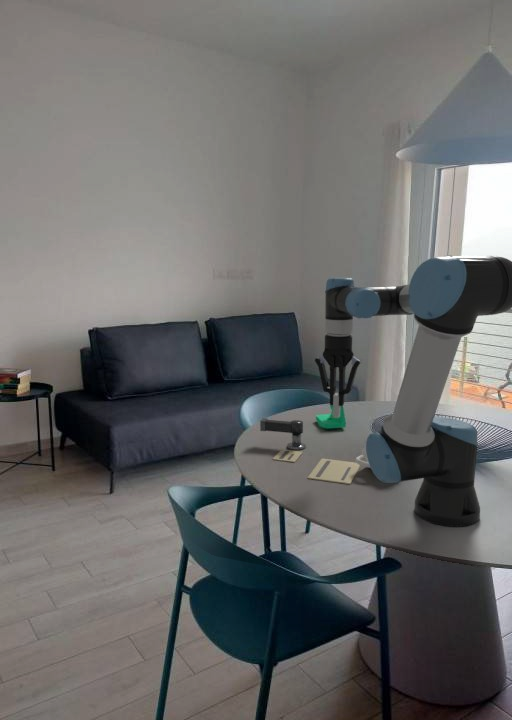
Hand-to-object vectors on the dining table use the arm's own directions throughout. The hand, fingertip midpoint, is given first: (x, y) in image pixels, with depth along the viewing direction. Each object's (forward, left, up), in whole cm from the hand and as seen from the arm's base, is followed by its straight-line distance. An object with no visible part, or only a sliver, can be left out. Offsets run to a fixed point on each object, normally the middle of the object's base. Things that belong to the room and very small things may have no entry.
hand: (336, 416), depth 166 cm
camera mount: (+43, +12, -17) cm, 47 cm away
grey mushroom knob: (+16, +17, -16) cm, 28 cm away
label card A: (+7, +17, -16) cm, 24 cm away
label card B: (0, 0, -16) cm, 16 cm away
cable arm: (+16, +21, -12) cm, 29 cm away
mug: (+3, -11, -17) cm, 20 cm away
